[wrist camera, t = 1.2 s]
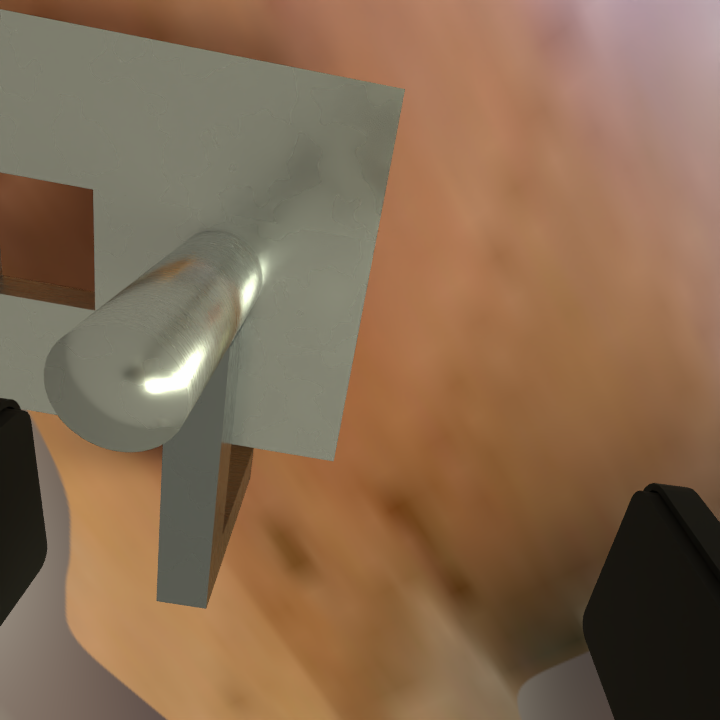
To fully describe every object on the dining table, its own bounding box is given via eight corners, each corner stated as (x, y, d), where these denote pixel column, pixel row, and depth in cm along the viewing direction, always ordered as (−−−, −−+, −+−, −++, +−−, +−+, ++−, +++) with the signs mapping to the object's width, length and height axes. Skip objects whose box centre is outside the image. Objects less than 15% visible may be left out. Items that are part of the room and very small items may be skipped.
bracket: (231, 263, 32) (167, 337, 22) (274, 271, 32) (229, 348, 22) (212, 472, 37) (156, 600, 28) (250, 478, 38) (206, 608, 28)
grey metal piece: (27, 16, 27) (-518, -98, 11) (398, 89, 28) (423, 89, 11) (45, 330, 34) (-271, 558, 17) (343, 382, 34) (309, 647, 18)
